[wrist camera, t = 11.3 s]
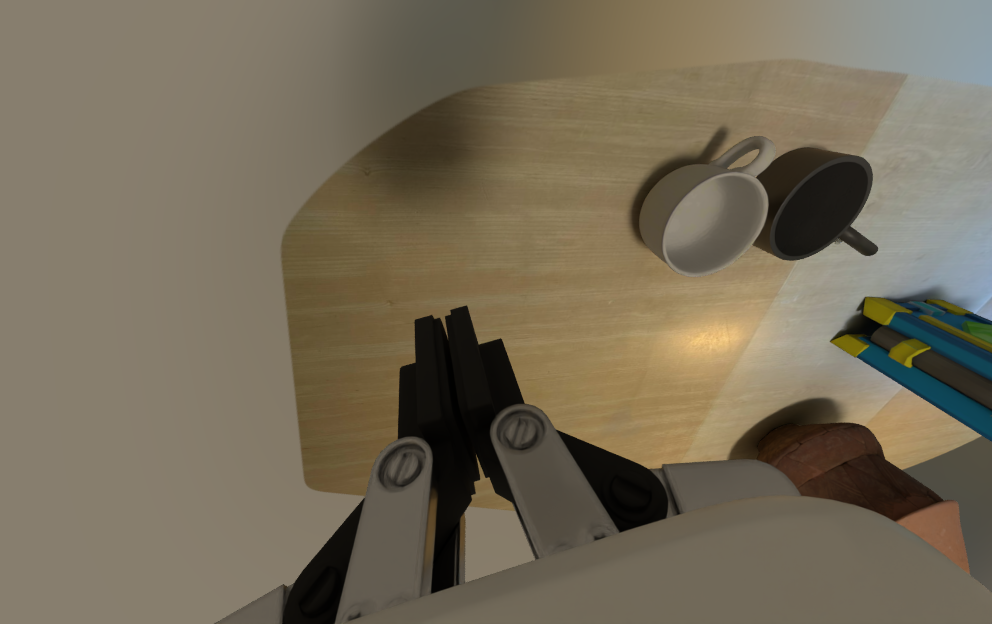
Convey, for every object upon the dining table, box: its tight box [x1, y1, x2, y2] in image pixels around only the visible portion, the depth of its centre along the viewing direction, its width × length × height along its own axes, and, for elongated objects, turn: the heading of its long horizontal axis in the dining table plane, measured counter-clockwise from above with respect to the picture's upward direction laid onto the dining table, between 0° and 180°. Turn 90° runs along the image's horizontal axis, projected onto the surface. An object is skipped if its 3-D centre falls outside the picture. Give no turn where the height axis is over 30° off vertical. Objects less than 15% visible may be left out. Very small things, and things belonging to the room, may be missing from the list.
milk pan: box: [752, 148, 878, 261], centre depth 43 cm, size 12×21×5 cm, turn 64°
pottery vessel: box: [757, 423, 970, 574], centre depth 67 cm, size 26×26×30 cm
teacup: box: [639, 136, 776, 277], centre depth 37 cm, size 14×11×8 cm
